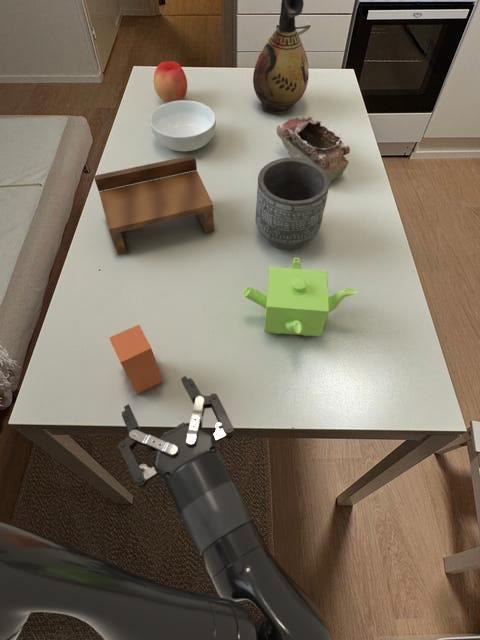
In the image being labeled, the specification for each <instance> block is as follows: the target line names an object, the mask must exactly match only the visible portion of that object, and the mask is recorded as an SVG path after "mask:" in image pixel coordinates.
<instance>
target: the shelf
mask: <svg viewBox="0 0 480 640" xmlns="http://www.w3.org/2000/svg"><path fill="white" fill-rule="evenodd" d="M93 178H94V182H95V185H96V188H97V191H98V194H99V198H100V202H101V206H102V210H103V213H104V217H105V220H106V225H107V229H108V231H109V234H110V236H111V240H112V243H113V245H114V249H115V252H116V254H117V255H122V254H126V253H127V249H126V245H125V242H124V241H125V240H124V238H123V232H126V231H131V230H135V229H139V228H144V227H147V226H151V225H156V224H160V223H164V222H168V221H173V220H177V219H182V218H186V217H190V216H194V215H197V216H198V219H199V220H200V221H199V222H200V223H201V225H202V227H203V230H204V232H205V233H210V232H214V231H215V223H214V221H215V220H214V203H213V201H212V199H211V197H210V195H209V193H208V190H207V188H206V186H205V185H204V182H203V180H202V178H201V176H200V174H199V172H198V167H197V158H196V157H195V155H194V154H192V155H191V154H190V155H187V156H181V157H176V158H172V159H167V160H162V161H158V162H153V163H148V164H144V165H139V166H134V167H128V168H124V169H120V170H115V171H110V172H105V173H100V174H96V175H93Z"/></svg>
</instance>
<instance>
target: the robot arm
mask: <svg viewBox="0 0 480 640" xmlns="http://www.w3.org/2000/svg"><path fill="white" fill-rule="evenodd" d="M180 380H181V383H182V386H183V388H184V389H185V391H186V393H187V395H188V397H189V399H190V401H191V403H192V404H193V408H192V412H191V415H190V419H189V420H190V421H189V422H181V423H180V424H178V425H177V426H176V427H175V428H174V429H169V430H167V431H165V432H162V435H161V436H160V438H158V437H156V436H154V435H152V434H147V433H145V432H143V431H142V429H141V427H140V425H139V423H138V421H137V419H136V416H135V414H134V412H133V410H132V407H131V406H130V405H129V404H126V405H124V406H123V408H124V410H122V412H121V417H122V420H123V422H124V424H125V426H126V429H127V432H128V434H127V436H126V437H125V438H124V439H123V440H120V441H119V442H118V444H117V448H118V450H119V452H120V454H121V455H122V458H123V459H124V462H125V464H126V466H127V468H128V470H129V472H130V474H131V476H132V478H133V480H134V482H135V483H136V484H137V485H138V486H139V487H140V488H145V487H146V486H147V485H148V482H149V481H151V480H152V479H155V478H156V477H158V476H160V477H161V478H162V479H163V481H164V483H165V485H166V487H167V490H168V492H169V494H170V496H171V499H172V501H173V503H174V506H175V507H176V510H177V512H178V514H179V516H180V518H181V521H182V525H183V527H184V528H185V529H186V532H187V534H188V536H189V538H190V540H191V541H192V543H193V544H194V547H196V550H197V551H198V553H199V555H200V558H201V559H202V562H203V564H204V566H205V568H206V570H207V573H208V575H209V577H210V579H211V582H212V584H213V586H214V588H215V590H216V592H217V594H218V595H219V596H216V595H210V594H205V593H201V592H196V591H190V590H185V589H180V588H177V587H173V586H169V585H167V584H166V585H165V584H162V583H160V582H156V581H153V580H151V579H148V578H146V577H144V576H141V575H139V574H136V573H134V572H131V571H129V570H126V569H125V568H122V567H120V566H117V565H115V564H113V563H111V562H108V561H106V560H103V559H101V558H99V557H97V556H94V555H92V554H90V553H87V552H84V551H82V550H79V549H77V548H74V547H73V546H69V545H66V544H64V543H62V542H59V541H56V540H54V539H52V538H49V537H46V536H44V535H42V534H39V533H36V532H34V531H31V530H29V529H26V528H23V527H20V526H18V525H16V524H15V525H14V524H13V523H9V522H5V521H2V520H0V640H17V638H18V637H19V635H20V633H21V632H22V629H23V628H24V626H25V624H26V623H27V620H28V619H29V617H30V615H31V613H52V614H53V613H54V614H61V615H66V616H70V617H73V618H76V619H78V620H81V621H82V622H84V623H86V624H87V625H89V626H90V627H91V628H93V629H94V630H95V631H96V633H97V634H99V635H100V637H102V639H103V640H334V637H333V634H332V631H331V627H330V626H329V623H328V621H327V619H326V618H325V616H324V614H323V613H322V611H321V610H320V608H319V607H318V606H317V604H316V603H315V602H314V600H313V599H311V598H310V596H309V595H308V594H307V592H305V591H304V590H303V588H301V586H300V585H299V584H298V583H297V582H296V581H295V580H294V578H293V577H292V576H291V575H290V573H288V571H286V569H285V568H284V567H283V566H282V565H281V564H280V563H279V561H277V559H276V558H275V557H274V556H273V554H272V553H271V552H270V550H269V547H268V545H267V544H266V542H265V539H264V538H263V536H262V534H261V532H260V531H259V528H258V527H257V525H256V523H255V521H254V518H253V517H252V515H251V512H250V510H249V507H248V505H247V502H246V500H245V498H244V497H243V494H242V493H241V491H240V489H239V487H238V485H237V483H236V481H235V480H234V478H233V476H232V474H231V472H230V470H229V469H228V467H227V465H226V463H225V461H224V459H223V457H222V456H221V453H220V452H219V450H218V448H217V442H220V441H222V440H224V439H228V440H230V439H232V438H233V437H234V425H233V424H232V421H231V420H230V418H229V415H228V414H227V411H226V410H225V407H224V406H223V403H222V401H221V399H220V398H219V396H218V394H217V393H210V395H203V394H202V393H201V392H200V390H199V388H198V386H197V384H196V382H195V380H194V379H193V378H191V377H190V378H187V376H186V375H184V376H183V377H181V378H180ZM206 409H211V410H212V413H213V414H214V416H215V418H216V420H217V422H216V424H215V432H211V431H209V430H207V429H205V428H203V423H204V416H205V411H206ZM136 446H139V447H141V448H143V449H146V450H147V451H149V452H151V453H153V454H155V456H154V461H153V466H152V467H149V466H148V465H147V464H146V463H140V462H139V460H138V459H137V457H136V454H135V452H134V451H133V450H134V448H136ZM245 600H246V601H249V602H251V603H252V604H253V605H254V606H255V608H257V609H258V610H259V611H260V612H261V614H262V615H263V616H262V617H260V618H259V619H258V620H256V621H255V619H254V617H253V615H252V613H251V612H250V611H249V609H248V608H247V607H246V606H244V605H243V604H241V603H240V602H241V601H245Z"/></svg>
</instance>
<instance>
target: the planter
mask: <svg viewBox="0 0 480 640" xmlns="http://www.w3.org/2000/svg"><path fill="white" fill-rule="evenodd" d="M330 183H331V182H330V180H329V177H328V174H327V173H326V171H325V170H324V169H323V168H322V167H320V166H319V165H317V164H315V163H313V162H311V161H308V160H305V159H300V158H290V157H283V158H282V157H281V158H278V159H275V160H273V161H270V162H268V163H266V164H265V165H264V166H263V167H262V168H261V169H260V170H259V173H258V176H257V188H256V189H257V190H256V207H255V225H256V228H257V230H258V231H259V233H260V235H261V236H262V237H263V238H264V239H265V241H267V243H268V244H269V245H270V246H273V247H274V248H276V249H278V250H283V251H292V250H297V249H299V248H301V247H303V246H305V245H306V244H307V243H309V242H310V241H311V240H313V239H314V238H315V237H316V236H317V234H318V233H319V232H320V229H321V225H322V220H323V217H324V212H325V208H326V204H327V200H328V199H327V198H328V194H329V191H330V185H331V184H330Z"/></svg>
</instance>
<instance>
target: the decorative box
mask: <svg viewBox="0 0 480 640" xmlns="http://www.w3.org/2000/svg"><path fill="white" fill-rule="evenodd" d="M276 135H277V136H278V137H279V139H280V140H281V142H282V145H283V147H284V148H285V149H286V150H287V153H288V156H289V158H300V159H305V160H308V161H311V162H313V163H315V164H317V165H319V166H320V167H322V168H323V169H324V170H325V171H326V173H327V174H328V177H329V180H330V183H331V182H332V181H334V179H337V178H339V177H341V176H342V175H343V174H344V172H345V170H346V168H347V167H348V165H349V163H350V161H349V160H348V159H347V158H346V156H347V155H348V154H350V152H351V147H350V146H349V145H348V144H347V143H344V142H343V141H342V140H341V139H342V138H343V137H342V135H341V133H340V132H339V131H338V130H336V129H335V128H334V127H333V126H331V125H330V124H327V123H325V122H323V121H321V120H316V119H315V120H314V117H312V116H309V117H307V118H305V117H303V116H301V115H299V116H297V117H295V118H292V119H290V118H289V119H288V120H287V121H285V122H284V123H282V124H279V125H277V126H276Z"/></svg>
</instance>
